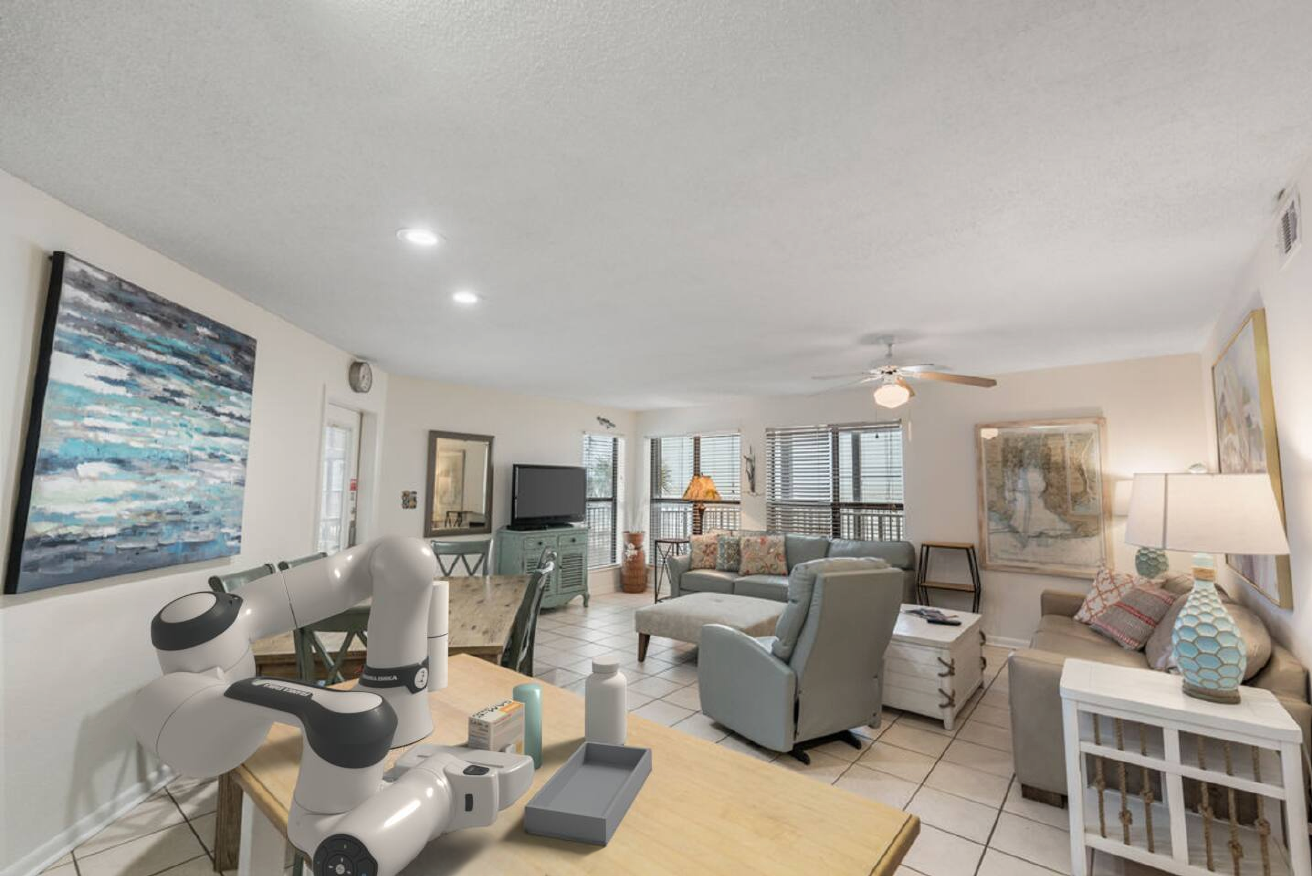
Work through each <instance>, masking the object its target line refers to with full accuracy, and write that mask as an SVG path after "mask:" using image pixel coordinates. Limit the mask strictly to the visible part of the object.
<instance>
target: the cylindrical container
mask: <svg viewBox="0 0 1312 876" xmlns="http://www.w3.org/2000/svg"><path fill="white" fill-rule="evenodd" d="M449 592H450V581H447V580H434V581H433V589H432V595H431V601H430V606H429V612H428V625H427V655H428V656H429V677H428V683H427V687H428V693H430V692H436V691H440V690H443V689H445V688H446V687H447V686H448V678H449V677H448V676H449V675H448V674H449V673H448V670H449V669H448V667H449V666H448V664H449V662H448V661H449V613H450V612H449V603H450V600H449V597H450V593H449Z"/></svg>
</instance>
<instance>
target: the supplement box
mask: <svg viewBox="0 0 1312 876" xmlns="http://www.w3.org/2000/svg"><path fill="white" fill-rule="evenodd" d="M467 719H468V720H467V721H468V727H467V728H468V729H467V735H468V737H467V741H468V748H471V749H479V750H487V751H495V752H502V747H503V746H504V745H506V743H507V744H515V745H516V754H519V755H524V730H525V703H521V702H517V701H513V699H508V698H503V699H500V700H498V701H497V702H495V703H493V704H491V705H488V706H487V707H485V708H483V709H481V710H479V711H477V712H475V713H473V714H471V715H469V716H468V718H467Z"/></svg>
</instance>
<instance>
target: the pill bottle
mask: <svg viewBox="0 0 1312 876" xmlns="http://www.w3.org/2000/svg"><path fill="white" fill-rule="evenodd" d="M620 661H621V660H620V659H619V658H618V657H615V656H599V657H595V658H594V659H593V660H592V661H591V673H590V674H588V676H587V677H586V679H585V681H584V683H585V684H584V742H585V741H591V742H599V743H608V744H617V745H624V744H625V743H626V740H627V734H628V732H627V731H628V730H627V729H628V725H627V719H628V717H627V716H628V713H627V711H628V710H627V707H628V705H627V704H628V702H627V700H628V698H627V697H628V694H627V692H628V691H627V690H628V689H627V688H628V687H627V686H628V685H627V684H628V683H627V682H628V681H627V678H626V676H625V674H623V673H622V672H620V670H621V669H620V668H621V667H620V665H621V662H620Z"/></svg>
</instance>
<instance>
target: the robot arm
mask: <svg viewBox="0 0 1312 876" xmlns="http://www.w3.org/2000/svg"><path fill="white" fill-rule="evenodd" d="M437 564H438V563H437V557H436V555H435V553H434V551H433V549H432V548H431V546H430V545H429V543H427V542H425V541H424V540H422V539H420V538H417V537H413V536H410V535H405V534H400V533H390V534H386V535H383V536H381V537H378V538H374V539H371V540H368V541H366V542H363V543H360V544H358V545H355V546H352V547H350V548H346V549H344V550H341V551H338V552H336V553H333V554H331V555H327V556H325V557H322V558H318V559H315V560H312V561H309V562H306V563H303V564H302V563H301V564H299V565H296V566H293V567H290V568H289V567H288V568H286V569H283V570H281V571H280V570H279V571H275V572H274V573H271V574H267V575H265V576H263V577H260V578H257V579H253V580H252V581H250V582H247V583H245V584H243V585H240V586H238V587H237V588H234V589H233V590H231V591H228V592H222V591H213V590H212V591H211V590H210V591H209V590H206V591H205V590H204V591H196V592H192V593H188V594H185V595H182V596H180V597H177V598H176V599H173V600H172V601H170V602H168V603H167V604H166V605H165V606H163V607H162V608H161V609H160V610H159V611H158V612H157V613H156V614H155V616H153V618H152V619H151V623H150V639H151V644H152V646H153V647H154V648H155V650H156V655H157V659H158V663H159V666H160V670H161V672H162V674H163V675H161V676H160V677H158V678H157V679H154V680H152V681H151V682H150V683H148V684H147V685H145V686H144V687H143V689H141V690H140V692H138V694H137V695H136V696H135V697H134V698H133V701H132V702H131V704H130V706H129V709H128V713H127V725H128V728H129V730H130V732H131V734H132V735H133V736H134V738H135V739H136V741H137V742H138V743H139V744H140V746H141V747H143V748H144V749H145V751H147V752H148V753H149V754H150V755H151V756H153V758H155V759H156V760H157V761H159V762H161V763H162V764H163V765H165V766H167V767H168V768H170V769H171V770H172V771H175V772H176V773H177V774H178V773H179V775H182V776H185V777H188V778H193V779H200V780H201V779H208V778H213V777H217V776H220V775H223V774H225V773H228V772H229V771H231V770H233V769H235V768H237V767H238V766H240V765H241V764H243V763H244V762H246V760H247V759H249V758H250V757H251V756H252V755H253V754H255V752H256V751H257V750H258V749H259V748H260V747H261V746H262V745H263V743H264V742H265V740H266V738H267V737H268V735H269V733H270V731H271V729H272V728H273V725H274V723H279V724H283V725H287V726H291V727H295V728H299V729H300V732H301V737H302V754H301V755H302V756H301V761H300V764H299V768H298V774H297V779H296V784H295V787H294V789H293V794H292V798H291V803H290V807H289V814H288V817H287V823H286V824H287V825H286V831H285V833H286V838H287V840H288V842H289V843H290V845H291V846H292V847H293V848H294V849H295V850H296V851H297V852H299V853H300V854H302V855H303V856H305V857H306V858H308V859H310V860H311V863H312V864H311V871H312V875H313V876H397V874H399V873H400V872H401V871H402V870H403V869H404V868H405V867H407V866H408V865H409V864H410V863H411V862H412V861H413V860H415V858H417V856H419V855H420V853H422V851H423V849H424V847H425V846H426V845H427V843H430V842H432V841H435V840H436V839H437V838H438V837H439V836H441V835H442V834H443V833H445V834H446V833H450V832H454V831H459V830H463V829H471V828H486V827H489V826H492V825H494V824H495V823H496V821H497V820H498V816H499V812H502V811H504V810H507V809H508V808H510V807H511V806H513V805H514V804H515V803H516V802H517V801H519V800H520V799H521V798H522V797H523V796H524V794H526V793H527V791H528V790H529V789H530V788H531V787H532V785H533V783H534V781H535V770H534V762H533V759H532V757H531V756H528V755H519V754H516V745H515V744H507V743H506V745H504V746H503V747H502V752H495V751H487V750H479V749H471V748H468V740H467V741H465V742H462V743H458V744H454V745H446V744H438V743H430V742H429V743H428V742H422V743H417V744H415V745H413V746H411V747H410V748H409V749H407V750H406V751H405V752H404V753H402V755H401V756H399V757H398V758H397V759H396V760H395V761H394V764H393V767H391V768H389V769H387V770H386V771H385V768H386V765H387V759H388V755H389V752H390V750H391V749H393V748H397V747H402V746H406V745H409V744H411V743H414V742H417V741H420V740H422V739H423V738H425V737H427V736H428V735H430V734H432V732H433V731H434V729H435V723H434V719H433V715H432V711H431V706H430V705H431V704H430V699H429V692H428V687H427V683H428V677H429V656H428V655H427V625H428V612H429V606H430V601H431V595H432V589H433V581H435V580H434V579H435V576H436V572H437V568H438V567H437V566H438V565H437ZM368 599H371V604H370V610H369V611H370V612H369V618H368V620H367V634H366V635H367V636H366V637H367V638H366V639H367V641H366V642H367V643H366V662H364V664H362V665H360V666H357V667H355V668H354V670H356V671H354V672H353V673H354V675H356V674H359V673H360V675H359V678H358V681H357V683H356V684H355V685H353V686H352V687H351V688H350V689H348V690H347V689H337V688H333V687H328V686H324V685H323V686H322V685H318V684H314V683H309V682H304V681H299V680H295V679H289V678H284V677H278V676H270V675H261V676H260V673H259V669H258V667H256V661H255V655H254V651H253V647H252V645H253V644H254V643H255V642H257V641H261V640H265V639H268V638H272V637H273V638H274V637H276V636H279V635H283V634H285V633H289V632H292V631H295V630H297V629H300V628H303V627H305V626H308V625H312V624H315V623H316V622H319V621H322V620H325V619H327V618H330V617H333V616H336V615H339V614H341V613H344V612H346V611H347V610H349V609H351V608H352V607H354V606H356V605H359V604H360V603H362V602H364V601H366V600H368Z"/></svg>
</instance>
